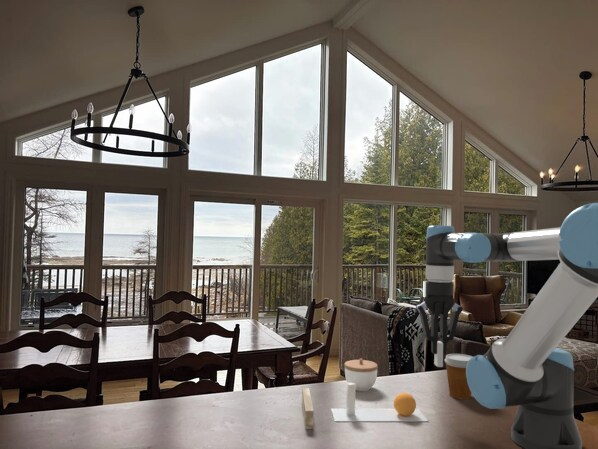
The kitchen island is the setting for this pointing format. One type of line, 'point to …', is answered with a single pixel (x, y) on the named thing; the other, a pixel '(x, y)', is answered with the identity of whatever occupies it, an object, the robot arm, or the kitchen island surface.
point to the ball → (404, 404)
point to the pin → (350, 399)
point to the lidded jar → (361, 373)
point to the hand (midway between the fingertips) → (438, 365)
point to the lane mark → (376, 415)
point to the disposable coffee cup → (457, 375)
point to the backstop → (307, 408)
